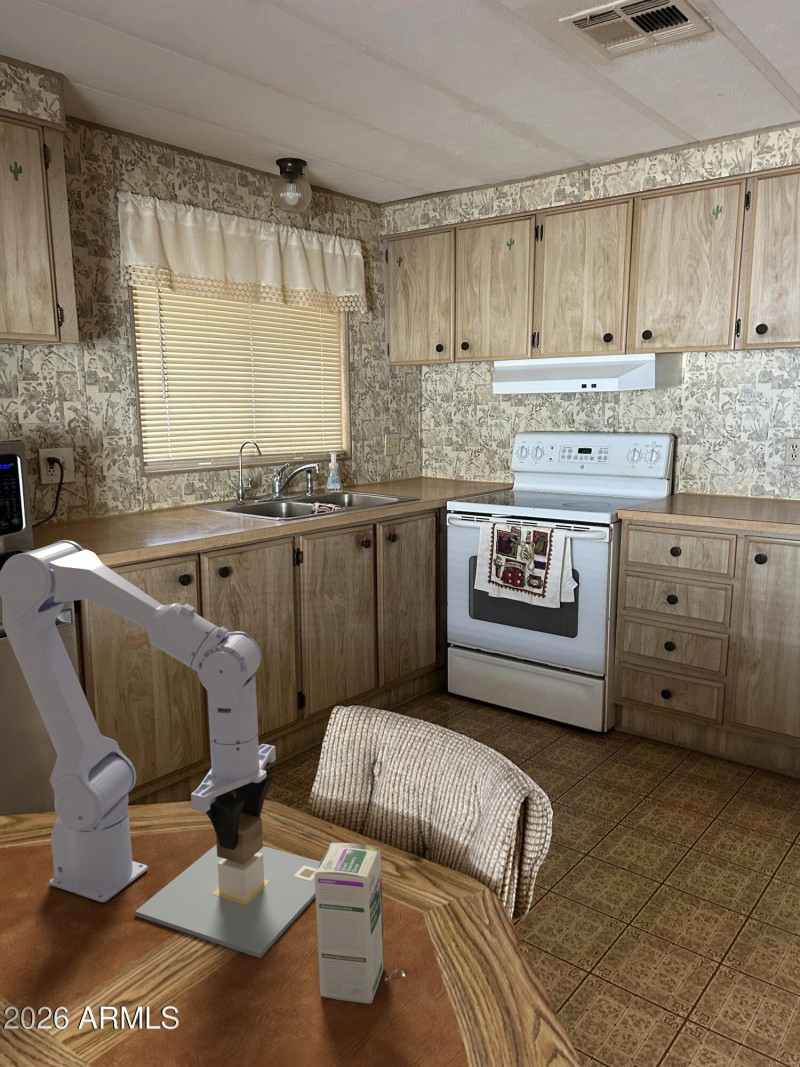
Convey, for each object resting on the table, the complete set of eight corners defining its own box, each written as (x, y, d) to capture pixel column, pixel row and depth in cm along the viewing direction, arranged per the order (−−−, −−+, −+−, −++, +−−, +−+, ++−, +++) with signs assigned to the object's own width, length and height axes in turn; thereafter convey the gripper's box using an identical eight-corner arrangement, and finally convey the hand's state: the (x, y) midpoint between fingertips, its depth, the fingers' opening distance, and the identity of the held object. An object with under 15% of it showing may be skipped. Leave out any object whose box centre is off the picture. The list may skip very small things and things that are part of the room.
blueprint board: (135, 915, 96) (134, 910, 96) (226, 840, 112) (226, 835, 112) (260, 958, 88) (260, 952, 88) (338, 870, 105) (338, 865, 104)
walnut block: (217, 856, 98) (215, 826, 98) (236, 840, 102) (235, 811, 101) (244, 864, 97) (242, 833, 96) (262, 847, 100) (261, 818, 99)
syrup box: (372, 1006, 81) (370, 877, 79) (317, 997, 83) (313, 870, 80) (384, 967, 87) (383, 845, 84) (332, 959, 88) (329, 839, 86)
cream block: (219, 892, 99) (217, 863, 98) (238, 874, 103) (237, 846, 102) (245, 900, 97) (244, 871, 97) (264, 882, 101) (263, 853, 100)
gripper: (224, 766, 88) (229, 877, 91) (294, 717, 101) (297, 816, 104) (174, 754, 91) (180, 862, 94) (248, 709, 104) (252, 805, 107)
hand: (238, 837), depth 99 cm, fingers closed on walnut block, 4 cm apart
